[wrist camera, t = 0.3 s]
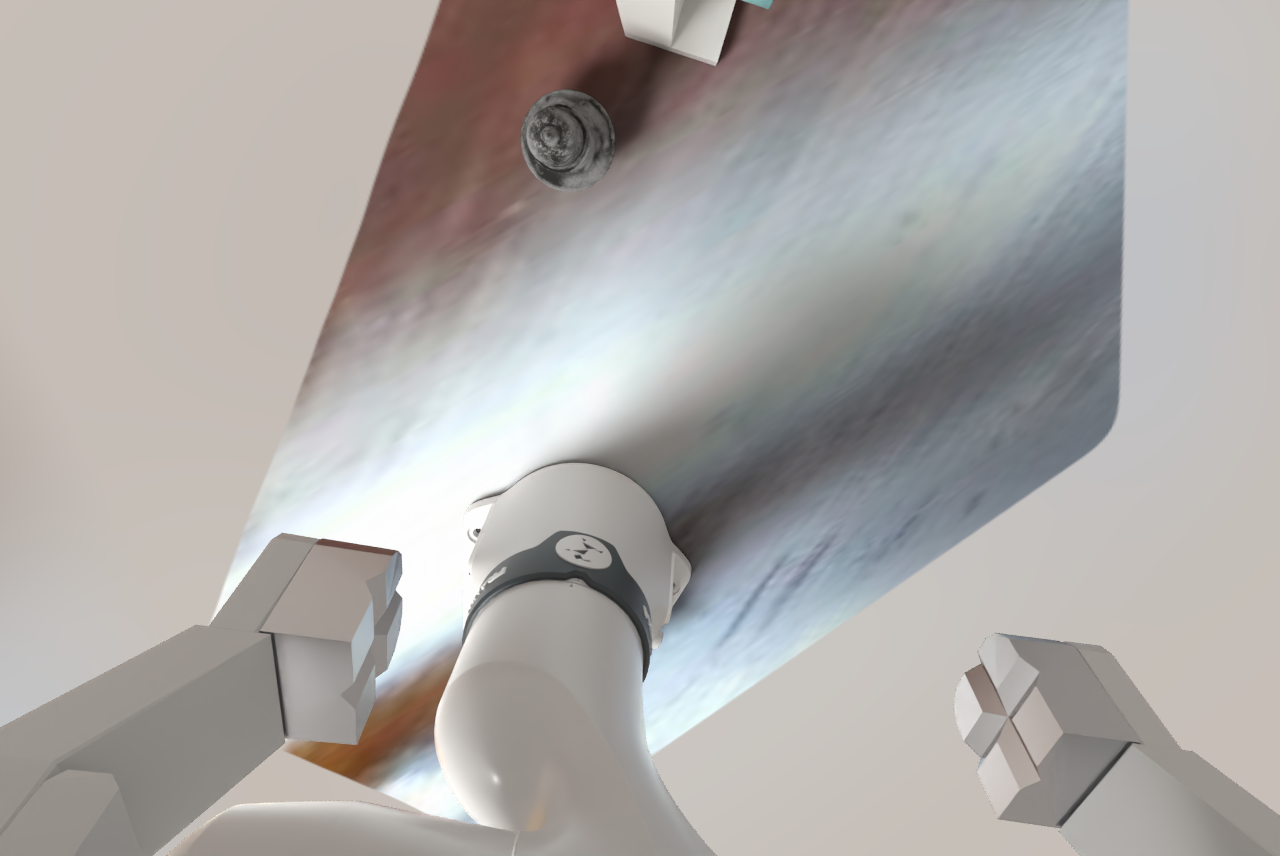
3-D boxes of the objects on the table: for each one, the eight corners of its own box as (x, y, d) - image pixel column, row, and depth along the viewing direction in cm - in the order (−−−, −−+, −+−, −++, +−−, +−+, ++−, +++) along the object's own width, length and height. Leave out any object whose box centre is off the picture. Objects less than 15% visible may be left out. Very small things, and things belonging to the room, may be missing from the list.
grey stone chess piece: (619, 95, 45) (605, 71, 34) (618, 191, 47) (605, 197, 36) (528, 94, 46) (485, 69, 34) (532, 189, 48) (492, 195, 36)
